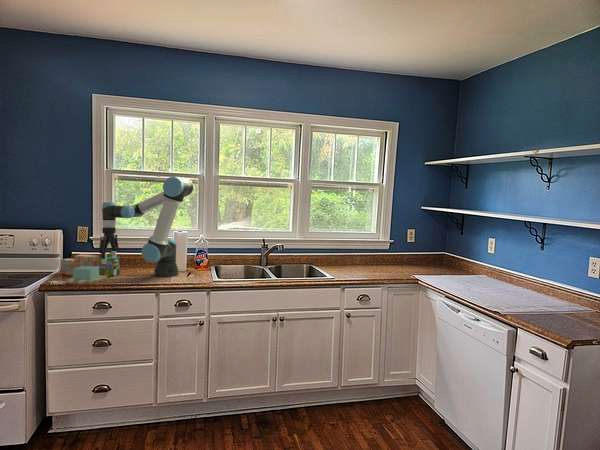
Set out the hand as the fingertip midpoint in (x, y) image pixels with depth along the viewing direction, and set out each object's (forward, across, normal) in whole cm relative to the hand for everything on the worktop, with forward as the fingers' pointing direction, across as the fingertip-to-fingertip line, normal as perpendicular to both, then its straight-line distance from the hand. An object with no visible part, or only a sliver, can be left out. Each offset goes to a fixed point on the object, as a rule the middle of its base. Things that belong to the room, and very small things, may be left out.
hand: (109, 262), depth 250 cm
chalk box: (+8, 0, 0) cm, 8 cm away
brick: (+7, +16, -4) cm, 18 cm away
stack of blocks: (+8, +2, -19) cm, 21 cm away
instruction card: (+8, +26, -15) cm, 31 cm away
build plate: (+8, +16, -4) cm, 18 cm away
